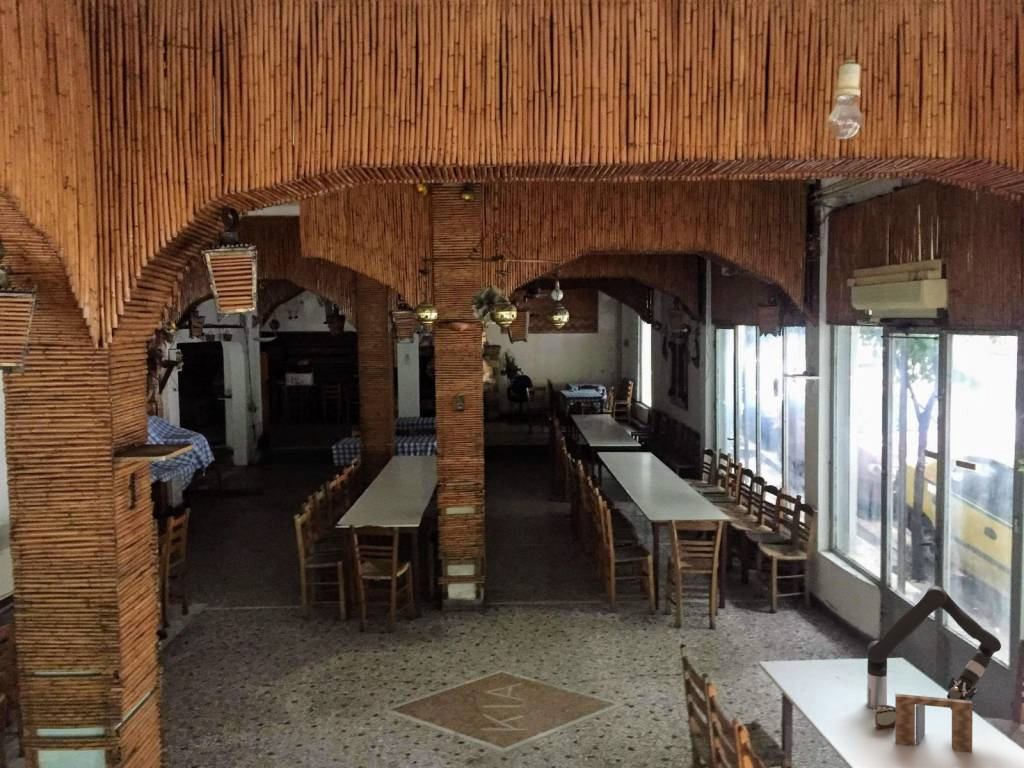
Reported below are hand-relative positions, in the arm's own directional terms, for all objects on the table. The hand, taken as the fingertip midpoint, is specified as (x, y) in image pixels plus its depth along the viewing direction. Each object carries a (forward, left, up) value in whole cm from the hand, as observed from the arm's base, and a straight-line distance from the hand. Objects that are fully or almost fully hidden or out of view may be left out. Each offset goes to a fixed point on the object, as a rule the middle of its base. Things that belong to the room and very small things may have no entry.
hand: (953, 701), depth 404 cm
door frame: (-11, -15, -17) cm, 25 cm away
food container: (-31, +1, -17) cm, 35 cm away
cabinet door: (-16, -7, -16) cm, 24 cm away
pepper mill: (+1, +1, -4) cm, 5 cm away
